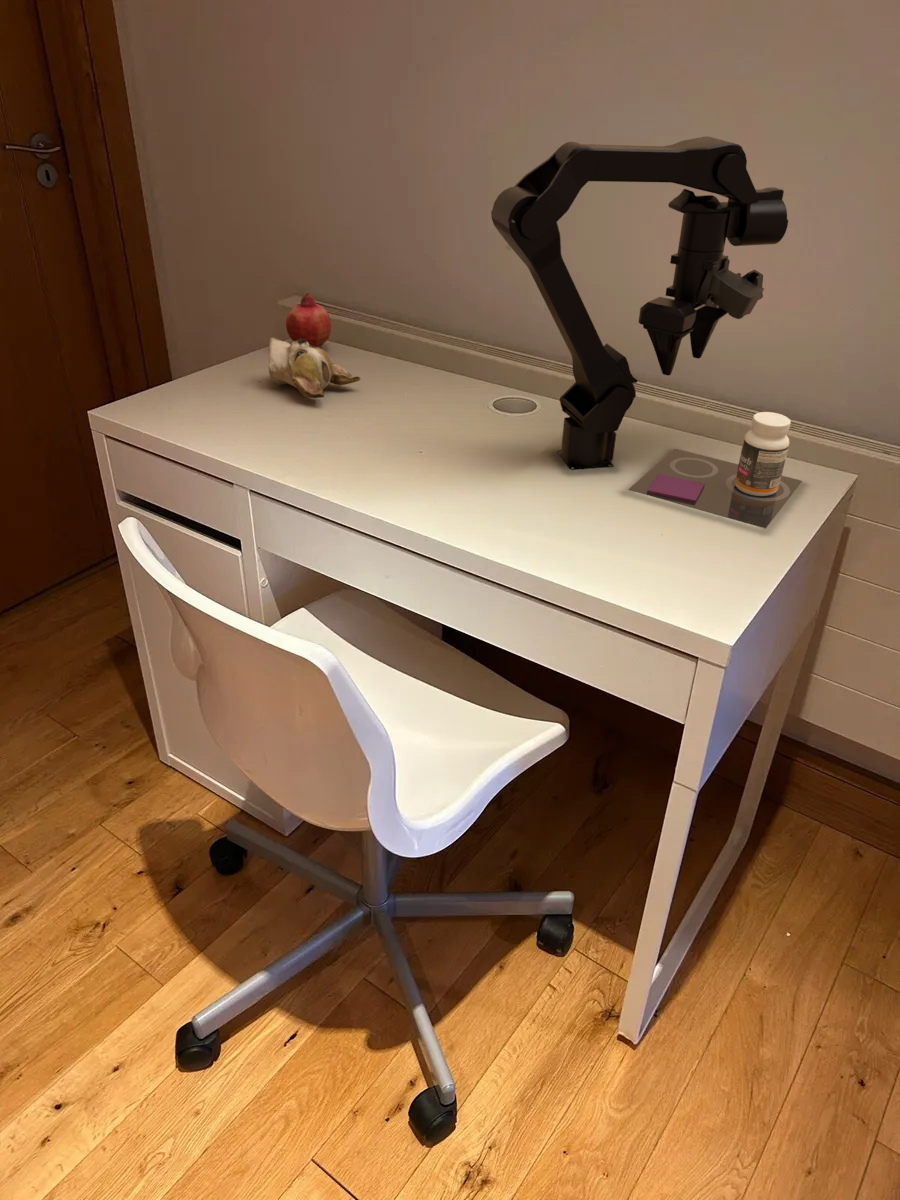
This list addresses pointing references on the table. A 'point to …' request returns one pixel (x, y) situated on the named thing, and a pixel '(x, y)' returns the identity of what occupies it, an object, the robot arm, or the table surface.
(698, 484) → the plum cloth
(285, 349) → the ceramic sculpture
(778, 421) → the pill bottle
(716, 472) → the hob
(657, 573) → the table surface
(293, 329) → the fruit
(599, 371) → the robot arm
